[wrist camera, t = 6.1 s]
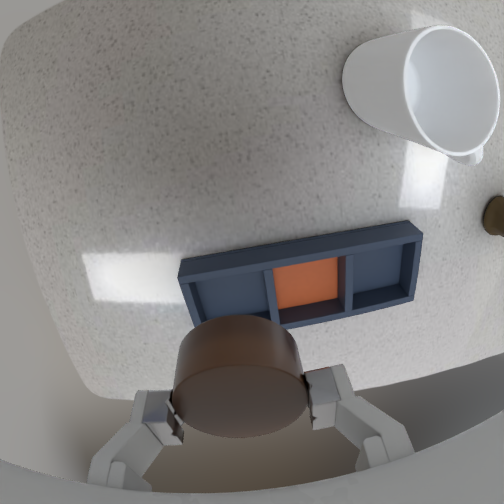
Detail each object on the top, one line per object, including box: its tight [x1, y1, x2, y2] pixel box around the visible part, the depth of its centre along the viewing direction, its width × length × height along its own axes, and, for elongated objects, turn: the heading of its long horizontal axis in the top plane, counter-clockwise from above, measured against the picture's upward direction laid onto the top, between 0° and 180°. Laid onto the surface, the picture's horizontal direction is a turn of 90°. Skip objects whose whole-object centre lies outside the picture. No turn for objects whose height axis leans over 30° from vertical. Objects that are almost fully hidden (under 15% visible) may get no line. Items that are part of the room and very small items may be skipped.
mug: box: [342, 25, 500, 166], centre depth 18 cm, size 12×8×10 cm
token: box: [172, 315, 309, 438], centre depth 11 cm, size 5×5×2 cm
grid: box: [177, 221, 423, 330], centre depth 29 cm, size 8×23×3 cm, turn 99°
